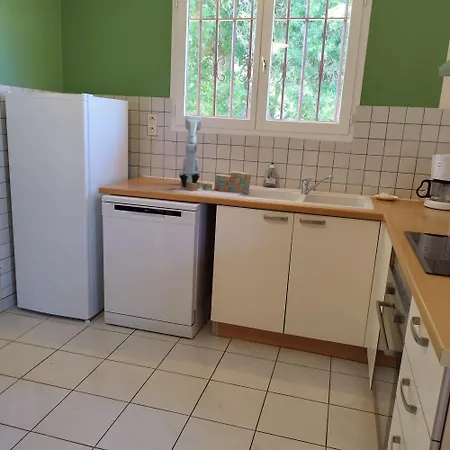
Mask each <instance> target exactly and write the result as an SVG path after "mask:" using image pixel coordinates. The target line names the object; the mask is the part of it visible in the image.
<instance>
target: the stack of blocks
mask: <svg viewBox="0 0 450 450" xmlns="http://www.w3.org/2000/svg"><path fill="white" fill-rule="evenodd" d="M214 177H215V178H214V179H215V180H214V187H213V191H219V192H230V193H239V194H245V195H249V193H250V185H251V178H252V173H247V172H242V171H234V170H233V171H232V170H231V171H230V175H227V174H226V175H225V174H215V176H214Z"/></svg>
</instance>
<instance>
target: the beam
mask: <svg viewBox="0 0 450 450" xmlns="http://www.w3.org/2000/svg"><path fill="white" fill-rule="evenodd" d="M179 184H180V185H179V186H180V187H179V189H181V188H182V190H185V189H186V191H190V190H191V192H199V190H198V184H195V183H190V182H186V187H183V186H182V182H181V181H180V183H179Z"/></svg>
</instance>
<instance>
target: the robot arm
mask: <svg viewBox="0 0 450 450" xmlns="http://www.w3.org/2000/svg"><path fill="white" fill-rule="evenodd" d="M184 121H185V123H184V124H185V127H184V128H185V130H187V131H188V133H189V134H188V135H187V136H186V144H185V158H183V162H182V170H181V171H178V174H179V175H178V176H179V178H180V182H182V186H183V187H186V182H190V183H195V184H196V183H197V182H199V181H198V180H199V179H200V177H201V172H200V171H199V159H198V158H197V157H196V155H197V152H198V151H197V149H198V144H197V143H198V142H197V141H198V136H197V133H198V131H201V127H202V116H194V115H192V116H191V115H186V116H185V119H184Z"/></svg>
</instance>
